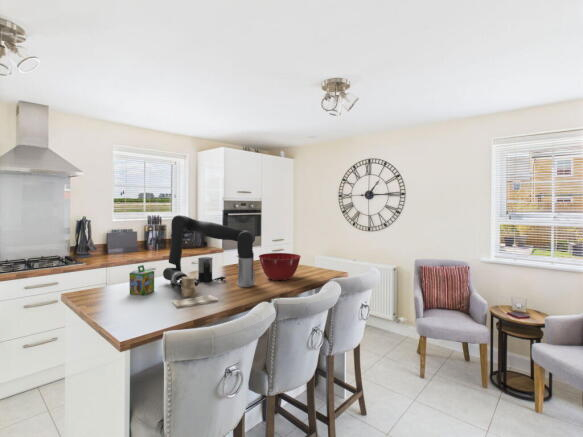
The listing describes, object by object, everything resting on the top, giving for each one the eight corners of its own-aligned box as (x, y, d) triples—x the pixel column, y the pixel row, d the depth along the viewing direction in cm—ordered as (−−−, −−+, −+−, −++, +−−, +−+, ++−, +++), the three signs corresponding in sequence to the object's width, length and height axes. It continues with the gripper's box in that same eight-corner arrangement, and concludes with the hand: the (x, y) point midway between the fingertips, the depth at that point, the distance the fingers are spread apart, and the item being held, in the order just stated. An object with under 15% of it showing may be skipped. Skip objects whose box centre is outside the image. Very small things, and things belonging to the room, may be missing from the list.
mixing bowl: (249, 277, 209) (250, 254, 208) (281, 271, 228) (282, 251, 227) (276, 286, 188) (277, 261, 187) (308, 279, 207) (309, 256, 207)
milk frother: (195, 280, 196) (195, 257, 195) (217, 277, 206) (217, 255, 206) (205, 285, 185) (205, 261, 185) (228, 281, 196) (228, 258, 195)
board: (211, 296, 163) (211, 294, 163) (217, 301, 156) (218, 299, 156) (172, 303, 151) (172, 300, 151) (177, 308, 144) (177, 306, 144)
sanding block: (190, 294, 167) (191, 275, 167) (194, 296, 162) (194, 278, 162) (181, 295, 164) (181, 276, 164) (184, 298, 159) (185, 279, 159)
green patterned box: (143, 295, 162) (144, 268, 162) (128, 294, 164) (128, 266, 163) (155, 291, 171) (155, 264, 171) (140, 289, 173) (140, 263, 172)
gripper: (167, 273, 171) (174, 280, 158) (192, 271, 179) (202, 276, 166) (166, 287, 171) (174, 294, 158) (192, 283, 180) (202, 290, 166)
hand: (188, 285), depth 162 cm, fingers open, 8 cm apart
